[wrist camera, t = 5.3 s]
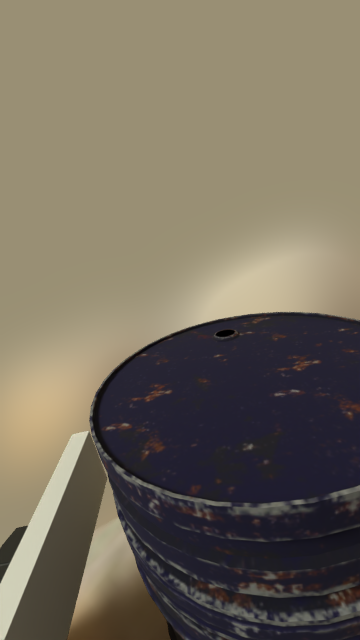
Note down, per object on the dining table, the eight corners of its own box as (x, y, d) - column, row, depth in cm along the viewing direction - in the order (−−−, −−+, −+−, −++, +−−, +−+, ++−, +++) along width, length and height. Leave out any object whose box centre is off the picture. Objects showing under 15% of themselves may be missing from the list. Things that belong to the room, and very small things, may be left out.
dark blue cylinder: (521, 854, 8) (677, 450, 4) (194, 891, 9) (-1, 571, 4) (334, 520, 18) (317, 297, 13) (184, 546, 18) (121, 339, 14)
